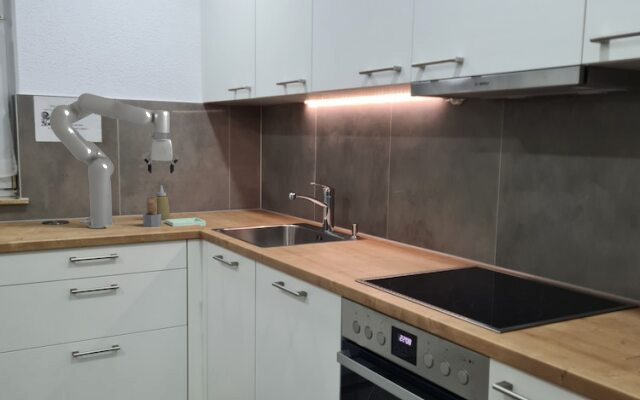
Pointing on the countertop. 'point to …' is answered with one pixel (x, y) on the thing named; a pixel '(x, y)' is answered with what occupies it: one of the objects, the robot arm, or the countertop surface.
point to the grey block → (152, 220)
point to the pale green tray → (186, 222)
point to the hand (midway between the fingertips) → (160, 173)
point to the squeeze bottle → (162, 204)
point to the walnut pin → (152, 206)
